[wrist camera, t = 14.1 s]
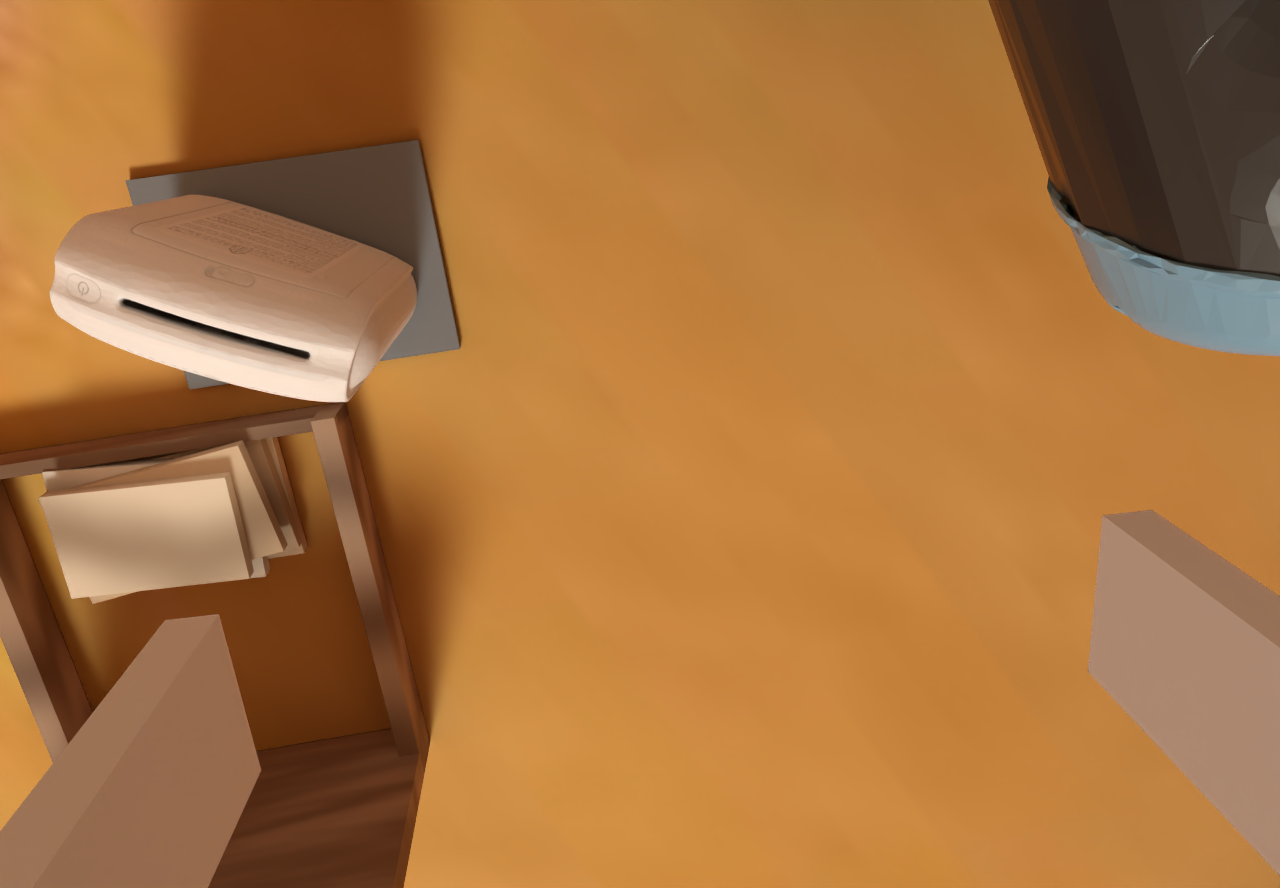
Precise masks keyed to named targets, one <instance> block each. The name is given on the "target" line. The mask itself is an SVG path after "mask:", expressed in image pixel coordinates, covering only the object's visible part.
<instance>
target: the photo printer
mask: <svg viewBox="0 0 1280 888" xmlns="http://www.w3.org/2000/svg"><path fill="white" fill-rule="evenodd" d="M54 261H55V277H54V281H53V284H52V287H51V290H50V299H51V302H52V305H53V308H54V310H55V312H56V313H57V314H58V316H60V317H61V318H62V319H64V320H65V321H67V322H68V323H70V324H71V325H73V326H75V327H76V328H78V329H80V330H81V331H83V332H85V333H87V334H89V335H90V336H93V337H95V338H97V339H99V340H101V341H104V342H106V343H108V344H111V345H113V346H115V347H118V348H120V349H123V350H126V351H128V352H131V353H133V354H136V355H139V356H141V357H144V358H147V359H150V360H153V361H156V362H159V363H162V364H165V365H168V366H171V367H174V368H177V369H180V370H184V371H187V372H191V373H194V374H198V375H201V376H204V377H208V378H211V379H215V380H218V381H222V382H226V383H230V384H234V385H237V386H241V387H245V388H249V389H254V390H258V391H262V392H267V393H271V394H276V395H281V396H286V397H291V398H297V399H303V400H310V401H321V402H348V401H349V400H350V399H351V398H352V397H353V395H354V394H355V392H356V391H357V390H358V389H359V387H360V386H361V385H362V383H363V382H364V381H365V379H366V378H367V377H368V375H369V374H370V373H371V371H372V370H373V369H374V367H375V366H376V365H377V363H378V362H379V361H380V359H381V358H382V357H383V355H384V354H385V352H386V351H387V350H388V348H389V347H390V346H391V344H392V343H393V341H394V340H395V339H396V338H397V336H398V335H399V334H400V332H401V331H402V330H403V328H404V327H405V325H406V324H407V323H408V321H409V320H410V318H411V317H412V315H413V313H414V310H415V307H416V302H417V290H416V284H415V281H414V278H413V276H412V275H411V272H412V270H413V267H412V266H410V265H409V264H407V263H406V262H404V261H402V260H400V259H398V258H397V257H395V256H392V255H390V254H388V253H386V252H384V251H381V250H379V249H376V248H373V247H371V246H368V245H365V244H362V243H360V242H357V241H356V240H351V239H348V238H345V237H342V236H339V235H336V234H334V233H331V232H328V231H325V230H322V229H319V228H316V227H313V226H310V225H307V224H304V223H301V222H298V221H295V220H292V219H289V218H286V217H283V216H280V215H277V214H273V213H270V212H267V211H263V210H260V209H257V208H254V207H250V206H247V205H243V204H240V203H236V202H233V201H229V200H226V199H221V198H217V197H211V196H204V195H193V194H191V195H185V196H181V197H175V198H171V199H166V200H161V201H156V202H151V203H146V204H141V205H136V206H131V207H125V208H120V209H115V210H110V211H105V212H100V213H94V214H90V215H87V216H85V217H83V218H82V219H81V220H80V221H78V222H77V223H76V224H75V225H74V226H73V227H72V228H71V229H70V230H69V232H68V233H67V235H66V236H65V238H64V239H63V241H62V243H61V245H60V247H59V249H58V250H57V253H56V255H55V260H54Z"/></svg>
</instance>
